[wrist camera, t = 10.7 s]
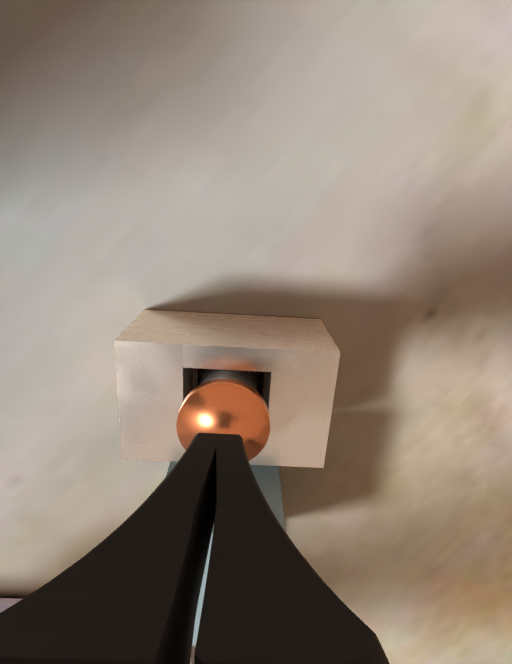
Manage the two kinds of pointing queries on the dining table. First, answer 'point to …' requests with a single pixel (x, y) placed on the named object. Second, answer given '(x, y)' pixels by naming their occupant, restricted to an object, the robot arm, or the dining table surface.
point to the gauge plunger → (226, 409)
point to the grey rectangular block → (226, 354)
